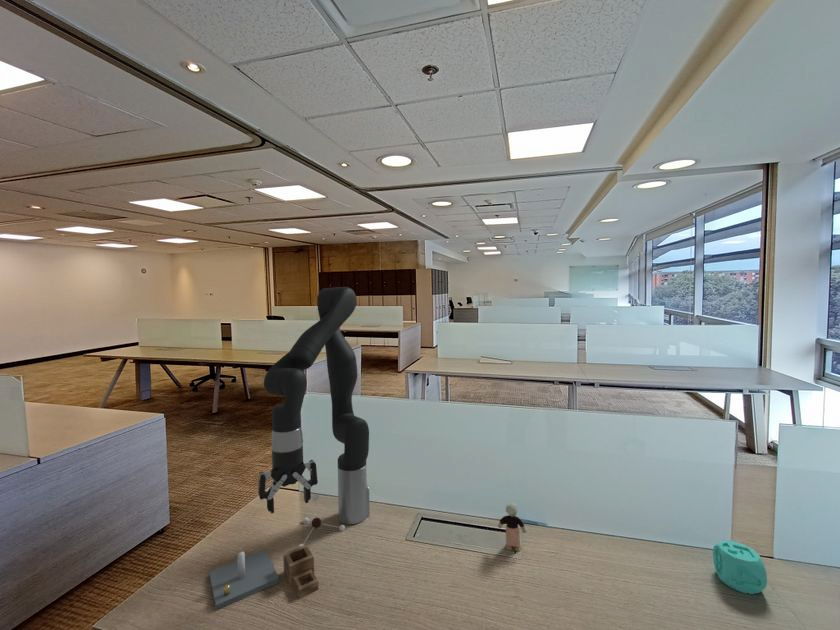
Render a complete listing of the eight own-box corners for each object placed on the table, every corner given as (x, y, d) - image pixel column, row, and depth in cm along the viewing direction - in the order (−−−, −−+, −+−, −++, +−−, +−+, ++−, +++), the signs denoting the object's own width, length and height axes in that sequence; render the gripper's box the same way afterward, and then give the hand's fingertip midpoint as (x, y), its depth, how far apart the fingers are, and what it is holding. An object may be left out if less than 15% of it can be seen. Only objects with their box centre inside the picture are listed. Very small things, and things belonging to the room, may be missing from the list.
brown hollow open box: (306, 562, 100) (306, 544, 100) (321, 587, 91) (320, 568, 91) (283, 572, 97) (283, 553, 97) (296, 599, 88) (296, 579, 88)
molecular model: (297, 553, 105) (296, 510, 104) (303, 522, 119) (302, 484, 119) (345, 546, 107) (344, 504, 107) (345, 516, 122) (344, 479, 121)
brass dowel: (229, 591, 89) (229, 583, 89) (230, 594, 88) (230, 586, 88) (223, 593, 88) (223, 585, 88) (224, 596, 87) (224, 588, 87)
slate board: (266, 554, 104) (265, 529, 103) (279, 582, 93) (278, 554, 93) (209, 576, 96) (208, 549, 95) (216, 610, 85) (215, 579, 85)
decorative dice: (767, 598, 87) (768, 565, 86) (725, 589, 89) (726, 557, 89) (750, 574, 94) (751, 544, 94) (712, 567, 97) (712, 537, 97)
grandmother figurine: (524, 543, 107) (524, 500, 107) (526, 552, 103) (526, 508, 103) (497, 541, 108) (497, 499, 107) (498, 550, 104) (498, 506, 103)
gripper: (311, 434, 102) (313, 492, 102) (255, 446, 94) (257, 508, 95) (319, 444, 95) (320, 505, 96) (259, 456, 88) (261, 523, 89)
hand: (289, 506), depth 96 cm, fingers open, 8 cm apart
